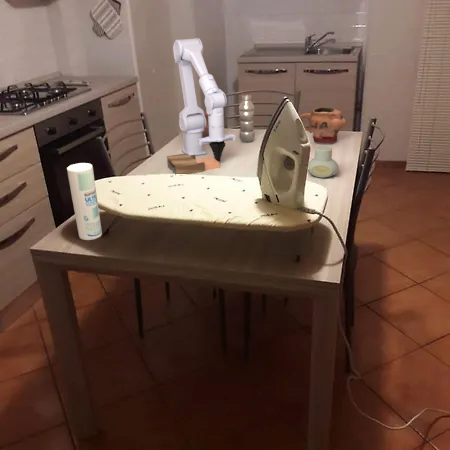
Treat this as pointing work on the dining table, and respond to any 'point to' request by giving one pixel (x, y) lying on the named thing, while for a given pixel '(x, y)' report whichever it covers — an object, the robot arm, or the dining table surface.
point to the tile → (209, 163)
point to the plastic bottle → (246, 119)
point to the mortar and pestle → (206, 129)
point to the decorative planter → (324, 124)
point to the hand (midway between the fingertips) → (217, 160)
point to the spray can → (85, 200)
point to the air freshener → (323, 163)
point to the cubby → (184, 164)
